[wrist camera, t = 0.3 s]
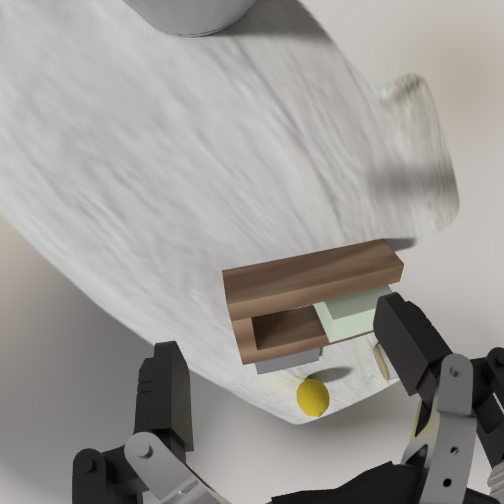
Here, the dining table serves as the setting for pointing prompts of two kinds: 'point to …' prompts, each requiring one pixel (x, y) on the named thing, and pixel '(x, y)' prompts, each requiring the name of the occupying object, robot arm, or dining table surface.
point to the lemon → (313, 397)
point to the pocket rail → (300, 296)
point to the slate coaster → (287, 361)
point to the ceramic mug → (384, 363)
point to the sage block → (350, 313)
